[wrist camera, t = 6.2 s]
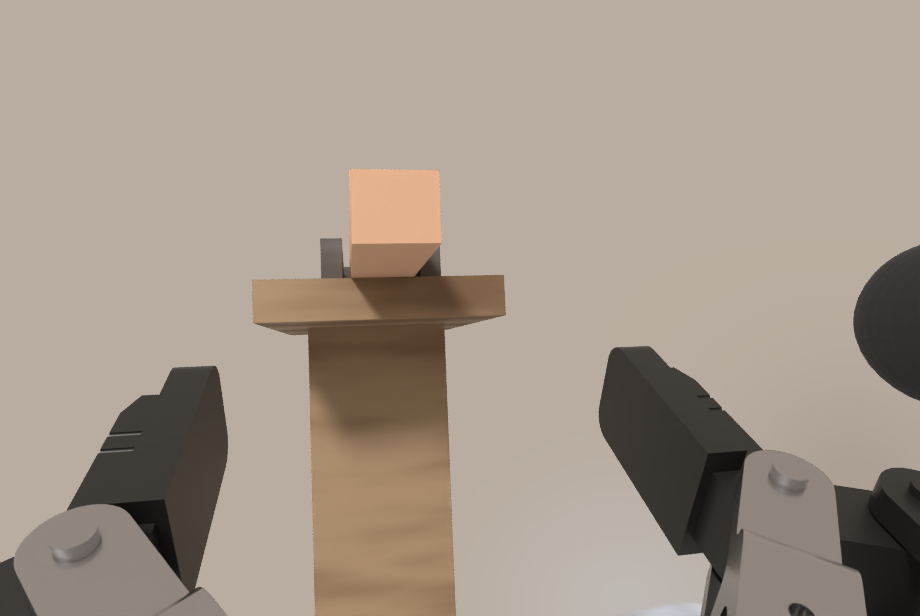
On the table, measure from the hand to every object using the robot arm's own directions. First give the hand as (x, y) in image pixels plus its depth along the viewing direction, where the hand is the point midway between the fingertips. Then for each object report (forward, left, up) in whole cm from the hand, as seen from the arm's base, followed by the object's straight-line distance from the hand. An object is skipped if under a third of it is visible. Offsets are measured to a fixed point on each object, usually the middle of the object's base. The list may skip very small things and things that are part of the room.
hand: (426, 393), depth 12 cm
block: (-14, -12, +4) cm, 19 cm away
